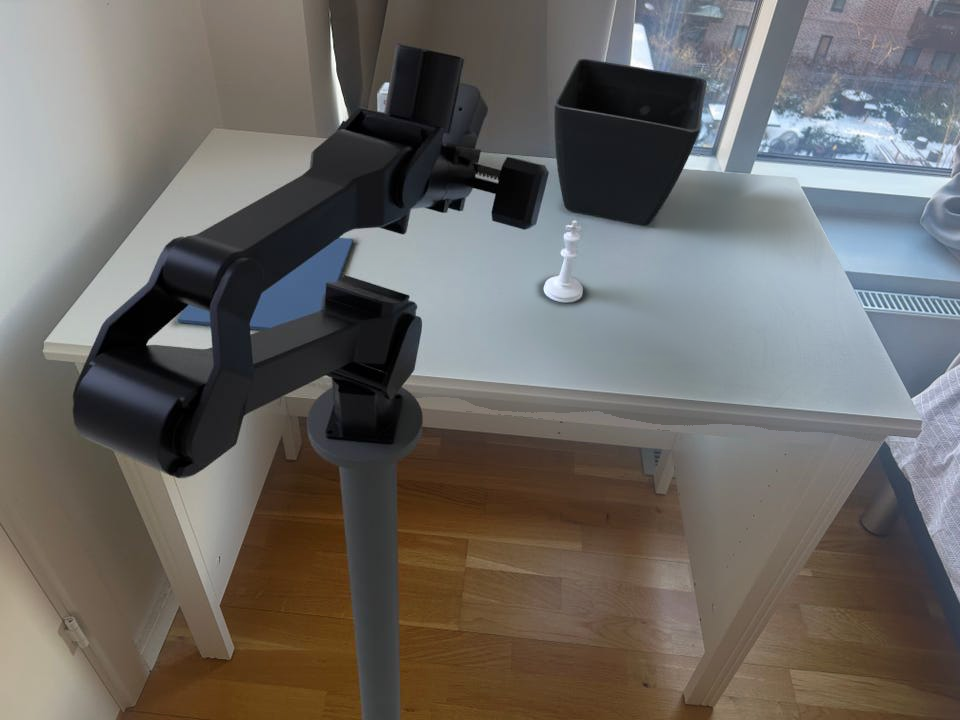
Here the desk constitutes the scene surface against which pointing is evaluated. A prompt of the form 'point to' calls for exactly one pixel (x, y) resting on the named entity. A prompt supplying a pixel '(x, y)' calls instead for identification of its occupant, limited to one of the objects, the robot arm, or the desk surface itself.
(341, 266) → the mat
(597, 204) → the flower pot
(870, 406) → the desk surface
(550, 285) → the chess piece
